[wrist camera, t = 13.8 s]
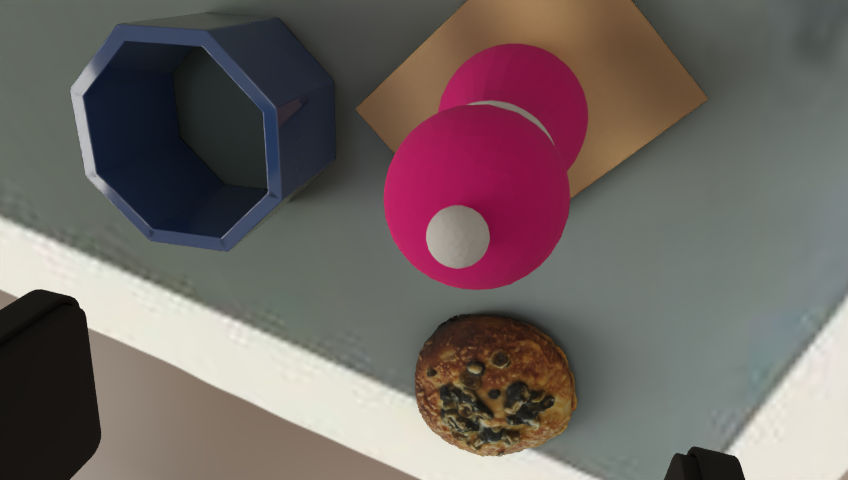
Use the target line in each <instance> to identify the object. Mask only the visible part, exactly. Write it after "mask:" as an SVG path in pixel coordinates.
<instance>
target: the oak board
mask: <svg viewBox="0 0 848 480" xmlns="http://www.w3.org/2000/svg"><path fill="white" fill-rule="evenodd" d="M509 43H510V44H526V45H531V46H536V47H538V48H542V49H544V50H546V51H548V52H550V53H552V54H553V55H555V56H557V57H558V58H559V59H560V60H561V61H563V62H564V63H565V64H566V65H567V66H568V67H569V68H570V69H571V71H572V72H573V73H574V74H575V76H576V77H577V79H578V81H579V83H580V85H581V87H582V89H583V91H584V94H585V98H586V102H587V106H588V126H587V132H586V136H585V140H584V143H583V145H582V148H581V150H580V152H579V154H578V156H577V158H576V160H575V162H574V163H573V164H572V166H571V167H570V168H569V170H568V171H567V175H568V179H569V186H570V199H571V198H573V197H574V196H575V195H577V194H578V193H579V192H581V191H582V190H584V189H585V188H586V187H588V186H589V185H591V184H592V183H593V182H595V181H596V180H597V179H599V178H600V177H602V176H603V175H604V174H606V173H607V172H609V171H610V170H611V169H613V168H614V167H615V166H617V165H618V164H620V163H621V162H622V161H624V160H625V159H626V158H628V157H629V156H631V155H632V154H633V153H635V152H636V151H638V150H639V149H640V148H642V147H643V146H644V145H646V144H647V143H649V142H650V141H651V140H653V139H654V138H656V137H657V136H658V135H660V134H661V133H662V132H664V131H665V130H667V129H668V128H669V127H671V126H672V125H674V124H675V123H676V122H678V121H679V120H680V119H682V118H683V117H685V116H686V115H687V114H689V113H690V112H691V111H693V110H694V109H696V108H697V107H698V106H700V105H701V104H703V103H704V102H705V101H707V100H708V98H707V96H706V95H705V94H704V92H703V91H702V90H701V89H700V87H699V86H698V85H697V83H696V82H695V81H694V80H693V78H692V77H691V76H690V74H689V73H688V72H687V71H686V69H685V68H684V67H683V65H682V64H681V63H680V62H679V60H678V59H677V58H676V56H675V55H674V54H673V53H672V51H671V50H670V49H669V47H668V46H667V45H666V44H665V42H664V41H663V40H662V38H661V37H660V36H659V35H658V33H657V32H656V31H655V29H654V28H653V27H652V26H651V24H650V23H649V22H648V20H647V19H646V18H645V17H644V15H643V14H642V13H641V11H640V10H639V9H638V7H637V6H636V5H635V4H634V2H633V1H632V0H467V1H466V2H465V3H464V4H463V5H462V6H461V7H460V8H459V9H458V10H457V11H456V12H455V13H454V14H453V15H452V16H451V17H450V18H449V19H448V20H447V21H445V22H444V23H443V24H442V25H441V26H440V27H439V28H438V29H437V30H436V31H435V32H434V33H433V34H432V35H431V36H430V37H429V38H428V39H427V40H426V41H425V42H424V43H423V44H422V45H421V46H420V47H419V48H418V49H416V50H415V51H414V52H413V53H412V54H411V55H410V56H409V57H408V58H407V59H406V60H405V61H404V62H403V63H402V64H401V65H400V66H399V67H398V68H397V69H396V70H395V71H394V72H393V73H392V74H391V75H390V76H389V77H387V78H386V79H385V80H384V81H383V82H382V83H381V84H380V85H379V86H378V87H377V88H376V89H375V90H374V91H373V92H372V93H371V94H370V95H369V96H368V97H367V98H366V99H365V100H364V101H363V102H362V103H361V104H359V105H358V106H357V107H356V109H355V110H356V111H357V112H358V113H359V114H360V115H361V117H362V118H363V119H364V120H365V121H366V122H367V123H368V124H369V126H370V127H371V128H372V129H373V130H374V131H375V132H376V133H377V135H378V136H379V137H380V138H381V139H382V140H383V141H384V142H385V144H386V145H387V146H388V147H389V148H390V149H391V150H392V151H393V153H394V154H395V153H396V152H397V150H398V148H399V146H400V144H401V143H402V142H403V140H404V139H405V138H406V137H407V136H408V134H409V133H410V132H411V131H412V130H413V129H415V128H416V127H417V126H418V125H419V124H420V123H422V122H423V121H425V120H426V119H428V118H429V117H431V116H432V115H434V114H436V113H438V109H439V105H440V101H441V97H442V95H443V92H444V90H445V88H446V86H447V84H448V82H449V81H450V79H451V77H452V76H453V75H454V73H455V72H456V71H457V69H458V68H459V67H460V66H461V65H462V64H463V63H464V62H465V61H467V60H468V59H469V58H471V57H472V56H474V55H475V54H477V53H479V52H481V51H483V50H485V49H487V48H490V47H494V46H497V45H503V44H509Z"/></svg>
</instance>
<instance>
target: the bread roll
mask: <svg viewBox="0 0 848 480" xmlns="http://www.w3.org/2000/svg"><path fill="white" fill-rule="evenodd" d="M574 385H575V382H574V375H573V373H572V372H571V370H570V368H569V363H568V361H567V358H566V355H565V354H564V352H563V351H562V350H561V349H560V347H559V346H557V345H556V344H555V343H554V342H553V340H552V339H551V338H550V337H549V336H548V335H547V334H545V333H543V332H542V331H540V330H539V329H537V328H536V327H535V326H534V325H532V324H525V323H523V322H520V321H518V320H514V319H510V318H508V317H500V316H493V315H487V316H486V315H478V314H477V315H470V314H469V315H463V314H462V315H459V317H458V316H454V317H453V318H450V319H449V320H447V322H444V323H442V324H441V325H440V326H439V327H438V328H437V330H435V332H434V333H433V335H432V336H431V337H430V338H429V339H428V340H427V341H426V342H425V343H424V346H423V348H422V349H421V350H420V353H419V358H418V361H417V365H416V372H415V393H416V398H417V404H418V408H419V411H420V413H421V414H422V418H423V419H424V420H425V422H426V423H427V425H428V426H429V427H430V428H431V430H432V431H433V432H434V433H435V434H438V435H439V436H440V437H441V438H442V439H443V440H445V441H446V442H448V443H449V444H451V445H455V446H457V447H458V448H459V449H462V450H466V451H468V452H471V453H474V454H477V455H480V456H485V455H486V456H489V455H490V456H499V457H500V456H502V455H506V454H511V453H514V452H520V451H522V450H524V449H526V448H534V447H537V446H540V445H542V444H544V443H545V442H546V441H547V440H548V439H550V438H554V437H555V436H558V435H559V434H561V433H562V432H563V431H564V430H565V429H566V428H567V426H568V422H569V420H570V419H571V414H572V411H574V410H576V406H577V398H576V395H575V387H574Z"/></svg>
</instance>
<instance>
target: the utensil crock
mask: <svg viewBox="0 0 848 480" xmlns="http://www.w3.org/2000/svg"><path fill="white" fill-rule="evenodd" d="M194 46H200V47H203V48H204V49H205V50H206V51H207V52H208V53H209V55H210V56H211V57H212V58H213V59H214V60H215V61H216V62H217V63H218V64H219V65H220V67H221V68H222V69H223V70H224V71H225V72H226V73H227V74H228V75H229V76H230V77H231V78H232V80H233V81H234V82H235V83H236V84H237V85H238V86H239V87H240V88H241V89H242V90H243V92H244V93H245V94H246V95H247V96H248V97H249V98H250V99H251V100H252V101H253V102H254V104H255V105H256V106H257V107H258V108H259V109H260V110H261V111H262V112H263V124H264V139H265V154H266V169H267V184H268V190H266V189H257V188H249V187H240V186H231V185H224V184H223V183H222V182H221V181H220V179H219V178H218V177H217V176H216V175H215V174H214V173H213V172H212V171H211V170H210V169H209V168H208V167H207V166H206V165H205V164H204V163H203V162H202V161H201V160H200V158H199V157H198V156H197V155H196V154H195V153H194V152H193V151H192V150H191V149H190V148H189V147H188V146H187V145H186V144H185V143H184V142H183V141H182V140H181V138H180V136H179V128H178V120H177V111H176V103H175V95H174V86H173V78H172V72H173V71H174V70H175V69H176V67H177V66H178V65H179V64H180V62H181V61H182V60H183V59H184V58H185V56H186V55H187V54H188V53H189V51H190V50H191V49H192V48H193V47H194ZM70 94H71V99H72V104H73V110H74V115H75V120H76V126H77V131H78V137H79V142H80V147H81V153H82V158H83V163H84V169H85V174H86V177H87V178H88V179H89V180H90V181H91V182H92V183H93V184H94V185H95V186H96V187H97V188H98V189H99V190H100V191H101V192H102V193H103V194H104V195H105V196H106V197H107V198H108V199H109V200H110V201H111V202H112V203H113V204H114V205H115V206H116V208H117V209H118V210H119V211H120V212H121V213H122V214H123V215H124V216H125V217H126V218H127V219H128V220H129V221H130V222H131V223H132V224H133V225H134V226H135V227H136V228H137V229H138V230H139V231H140V232H141V233H142V234H143V235H144V236H145V237H146V238H147V239H148V240H150V241H154V242H161V243H168V244H176V245H183V246H190V247H197V248H204V249H212V250H219V251H226V252H227V251H230V250H231V249H232V248H233V247H235V246H236V245H237V244H238V243H240V242H241V241H242V240H243V239H244V238H246V237H247V236H248V235H249V234H251V233H252V232H253V231H254V230H256V229H257V228H258V227H259V226H260V225H262V224H263V223H264V222H265V221H267V220H268V219H269V218H270V217H272V216H273V215H274V214H275V213H277V212H278V211H279V210H280V209H281V208H283V207H284V206H285V205H286V204H288V203H289V202H290V201H291V200H292V199H293V198H294V197H295V196H296V195H297V194H298V193H300V192H301V191H302V190H303V189H304V188H305V187H306V186H307V185H308V184H309V183H310V182H311V181H312V180H313V179H315V178H316V177H317V176H318V175H319V174H320V173H321V172H322V171H323V170H324V169H325V168H326V167H327V166H328V165H330V164H331V163H332V162H333V161H334V160H335V158H336V149H335V100H334V81H333V79H332V78H331V77H330V76H329V75H328V73H327V72H326V71H325V70H324V69H323V68H322V67H321V66H320V64H319V63H318V62H317V61H316V60H315V59H314V58H313V57H312V55H311V54H310V53H309V52H308V51H307V50H306V49H305V48H304V46H303V45H302V44H301V43H300V42H299V41H298V40H297V39H296V37H295V36H294V35H293V34H292V33H291V32H290V31H289V30H288V28H287V27H286V26H285V25H284V24H283V23H282V22H281V20H280V19H279V18H277V17H264V16H248V15H231V14H215V13H199V14H192V15H184V16H176V17H169V18H161V19H153V20H145V21H138V22H130V23H122V24H117V25H116V26H115V28H114V29H113V30H112V32H111V33H110V34H109V36H108V37H107V39H106V40H105V41H104V43H103V44H102V45H101V47H100V48H99V49H98V51H97V52H96V54H95V55H94V56H93V58H92V59H91V60H90V62H89V63H88V65H87V66H86V67H85V69H84V70H83V71H82V73H81V74H80V75H79V77H78V78H77V80H76V81H75V82H74V84H73V85H72V86H71V88H70Z"/></svg>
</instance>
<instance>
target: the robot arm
mask: <svg viewBox="0 0 848 480" xmlns="http://www.w3.org/2000/svg"><path fill="white" fill-rule="evenodd" d="M100 440H101V428H100V420H99V413H98V405H97V397H96V390H95V382H94V374H93V367H92V359H91V352H90V343H89V335H88V328H87V320H86V315H85V312H84V311H83V309H81V308H80V307H79V303H78V302H77V300H76V299H75V298H73V297H71V296H67V295H63V294H59V293H54V292H50V291H46V290H42V289H39V290H34V291H31V292H29V293H27V294H26V295H24V296H22V297H21V298H19V299H18V300H16V301H14V302H13V303H11V304H9V305H8V306H6V307H4V308H3V309H1V310H0V480H70V479H71V478H72V477H73V476H74V475H75V474H76V473H77V471H78V470H80V468H81V467H82V466H83V465H84V464H85V463H86V462H87V461H88V460H89V459H90V458H91V457H92V456H93V455H94V453H95V452H96V450H97V448H98V446H99V443H100ZM664 480H745V477H744V474H743V471H742V468H741V465H740V462H739V460H738V458H736V457H735V456H732V455H728V454H724V453H720V452H716V451H712V450H707V449H703V448H699V447H692V448H691V449H690V450H689V451H688V453H687V455H683V454H679V453H676V454H675V455H674V456H673V458H672V460H671V463H670V466H669V468H668V471H667V474H666V476H665V479H664Z"/></svg>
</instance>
